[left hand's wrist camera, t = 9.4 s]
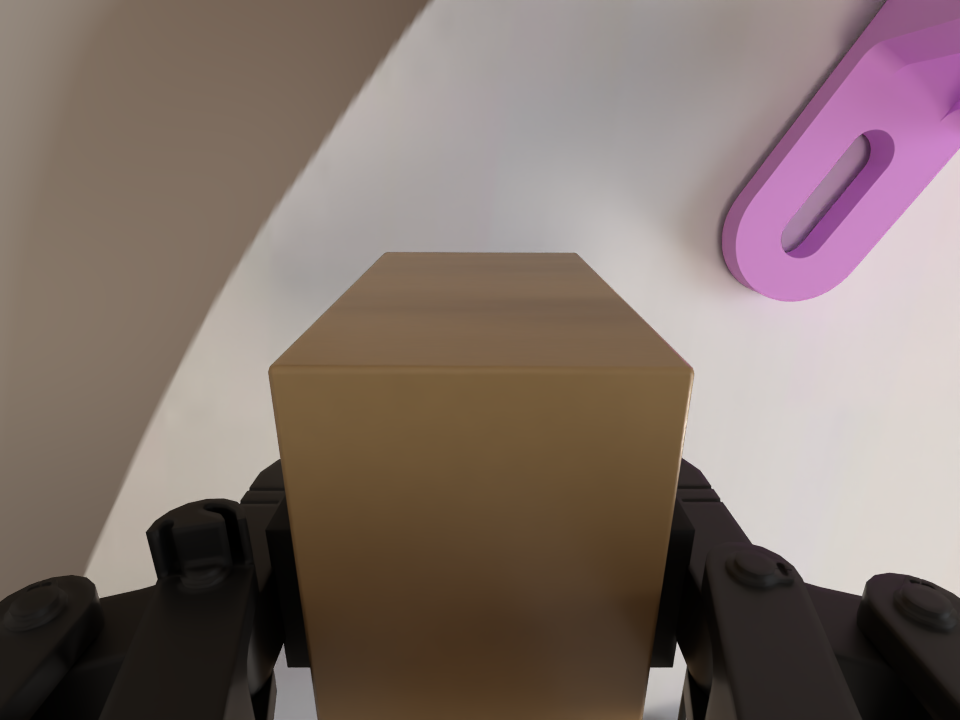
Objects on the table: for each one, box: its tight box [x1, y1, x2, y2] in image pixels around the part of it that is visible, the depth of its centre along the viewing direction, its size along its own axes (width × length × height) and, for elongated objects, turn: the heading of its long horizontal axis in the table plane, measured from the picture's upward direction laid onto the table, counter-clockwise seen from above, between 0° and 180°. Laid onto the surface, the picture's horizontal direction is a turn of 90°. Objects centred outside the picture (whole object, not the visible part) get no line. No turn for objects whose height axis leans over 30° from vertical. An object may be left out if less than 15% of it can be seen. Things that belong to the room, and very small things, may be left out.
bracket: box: [722, 0, 960, 301], centre depth 19 cm, size 13×6×7 cm, turn 148°
